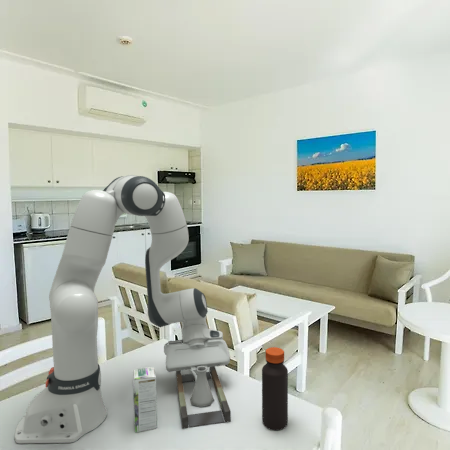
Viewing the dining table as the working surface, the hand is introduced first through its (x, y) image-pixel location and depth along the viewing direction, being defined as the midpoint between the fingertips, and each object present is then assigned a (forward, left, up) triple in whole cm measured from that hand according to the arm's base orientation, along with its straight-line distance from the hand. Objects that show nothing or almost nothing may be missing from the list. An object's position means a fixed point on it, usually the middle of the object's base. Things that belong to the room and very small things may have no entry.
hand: (200, 382), depth 107 cm
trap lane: (0, 0, -4) cm, 4 cm away
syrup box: (-16, -10, -5) cm, 19 cm away
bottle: (+18, -17, -5) cm, 25 cm away
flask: (0, -2, -5) cm, 5 cm away
